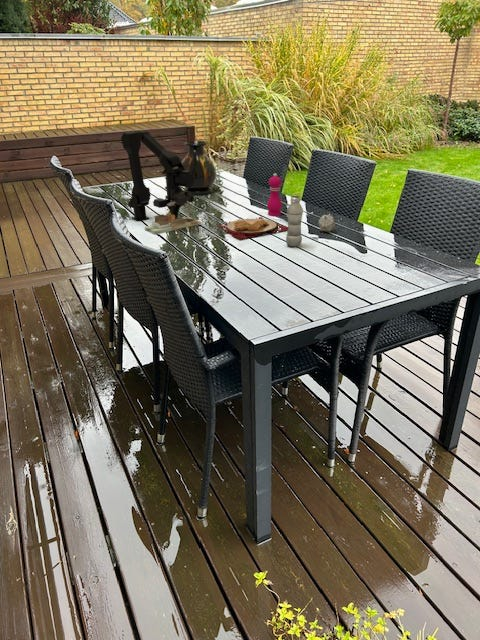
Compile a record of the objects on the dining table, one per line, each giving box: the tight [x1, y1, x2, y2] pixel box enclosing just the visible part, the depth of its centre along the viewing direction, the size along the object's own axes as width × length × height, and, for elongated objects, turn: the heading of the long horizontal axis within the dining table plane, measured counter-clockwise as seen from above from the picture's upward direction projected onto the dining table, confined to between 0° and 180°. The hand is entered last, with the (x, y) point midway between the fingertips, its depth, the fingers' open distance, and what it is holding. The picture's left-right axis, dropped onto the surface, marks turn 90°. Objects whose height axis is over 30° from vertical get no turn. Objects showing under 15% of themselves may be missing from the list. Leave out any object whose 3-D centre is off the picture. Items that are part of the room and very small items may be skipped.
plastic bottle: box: [285, 195, 304, 247], centre depth 195 cm, size 6×7×20 cm
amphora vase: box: [181, 140, 217, 196], centre depth 279 cm, size 22×22×28 cm
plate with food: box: [218, 216, 288, 240], centre depth 221 cm, size 25×26×4 cm
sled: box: [151, 212, 175, 228], centre depth 220 cm, size 6×9×4 cm, turn 129°
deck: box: [144, 216, 201, 235], centre depth 224 cm, size 9×24×4 cm, turn 129°
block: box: [153, 214, 169, 226], centre depth 220 cm, size 4×4×4 cm
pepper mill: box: [266, 173, 283, 217], centre depth 237 cm, size 7×7×20 cm
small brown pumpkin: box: [315, 212, 338, 233], centre depth 213 cm, size 9×8×10 cm
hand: (175, 218), depth 224 cm, fingers closed
